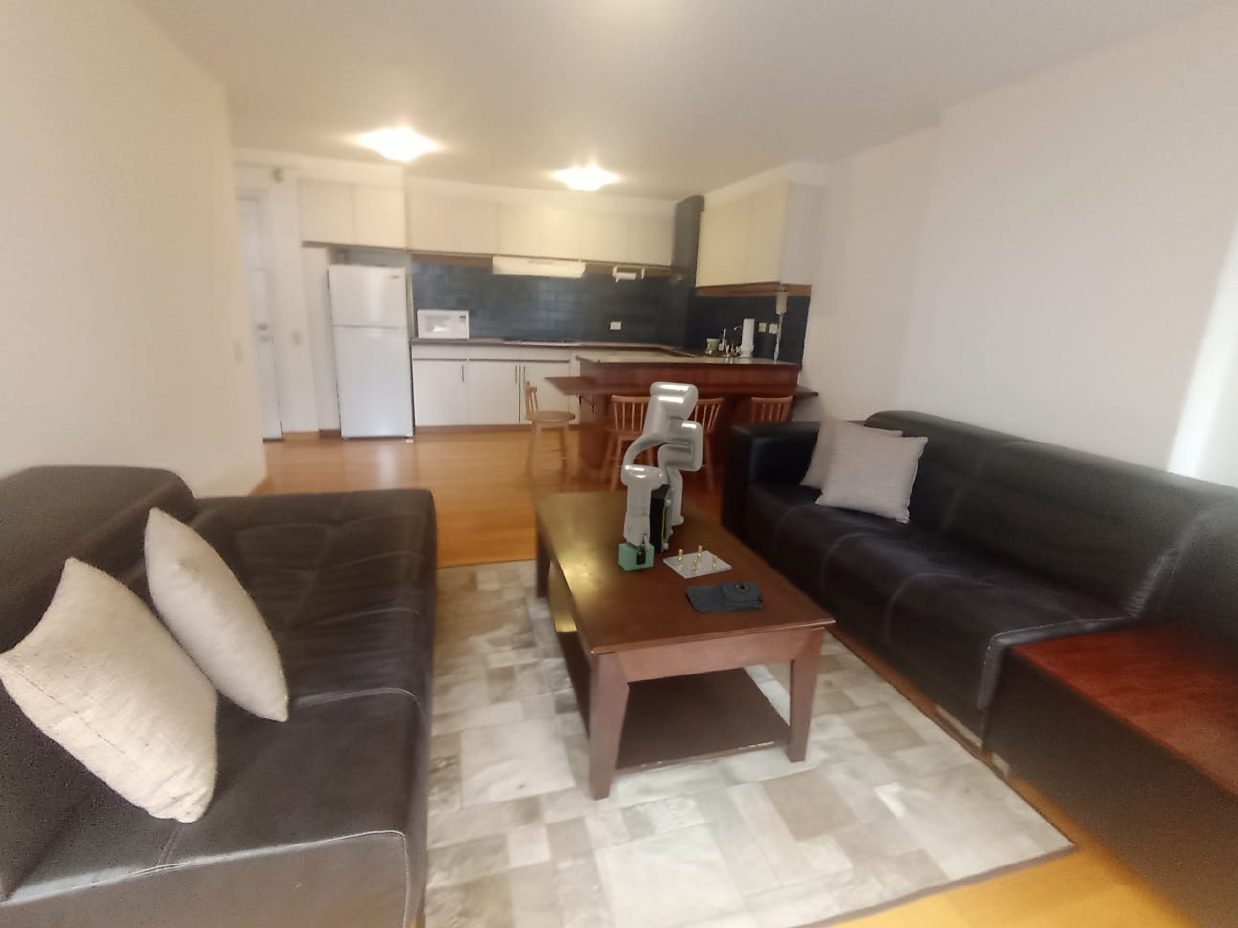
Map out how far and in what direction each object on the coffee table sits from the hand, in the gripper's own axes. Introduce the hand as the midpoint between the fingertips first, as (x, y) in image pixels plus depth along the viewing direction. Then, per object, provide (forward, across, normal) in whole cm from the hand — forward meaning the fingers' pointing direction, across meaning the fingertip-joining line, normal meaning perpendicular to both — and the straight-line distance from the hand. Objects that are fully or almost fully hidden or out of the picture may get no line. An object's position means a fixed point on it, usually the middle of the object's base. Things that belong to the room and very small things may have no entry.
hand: (636, 559), depth 192 cm
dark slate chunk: (+3, +31, +13) cm, 34 cm away
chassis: (+2, +8, +19) cm, 21 cm away
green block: (+2, 0, 0) cm, 2 cm away
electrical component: (+2, -14, +16) cm, 21 cm away
